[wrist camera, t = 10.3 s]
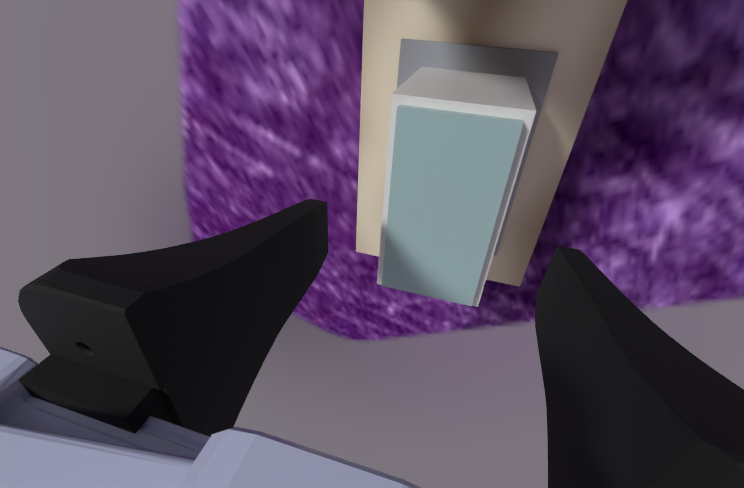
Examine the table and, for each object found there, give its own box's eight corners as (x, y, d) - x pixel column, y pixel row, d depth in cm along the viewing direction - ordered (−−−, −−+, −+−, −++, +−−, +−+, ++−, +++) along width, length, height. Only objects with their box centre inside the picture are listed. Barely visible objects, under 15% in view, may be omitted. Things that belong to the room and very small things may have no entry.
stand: (614, -5, 15) (631, -5, 13) (518, 264, 23) (520, 290, 21) (378, -19, 17) (362, -21, 15) (366, 233, 25) (354, 254, 23)
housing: (482, 236, 20) (477, 313, 15) (403, 221, 21) (374, 289, 16) (525, 77, 15) (537, 114, 10) (421, 66, 16) (388, 96, 11)
